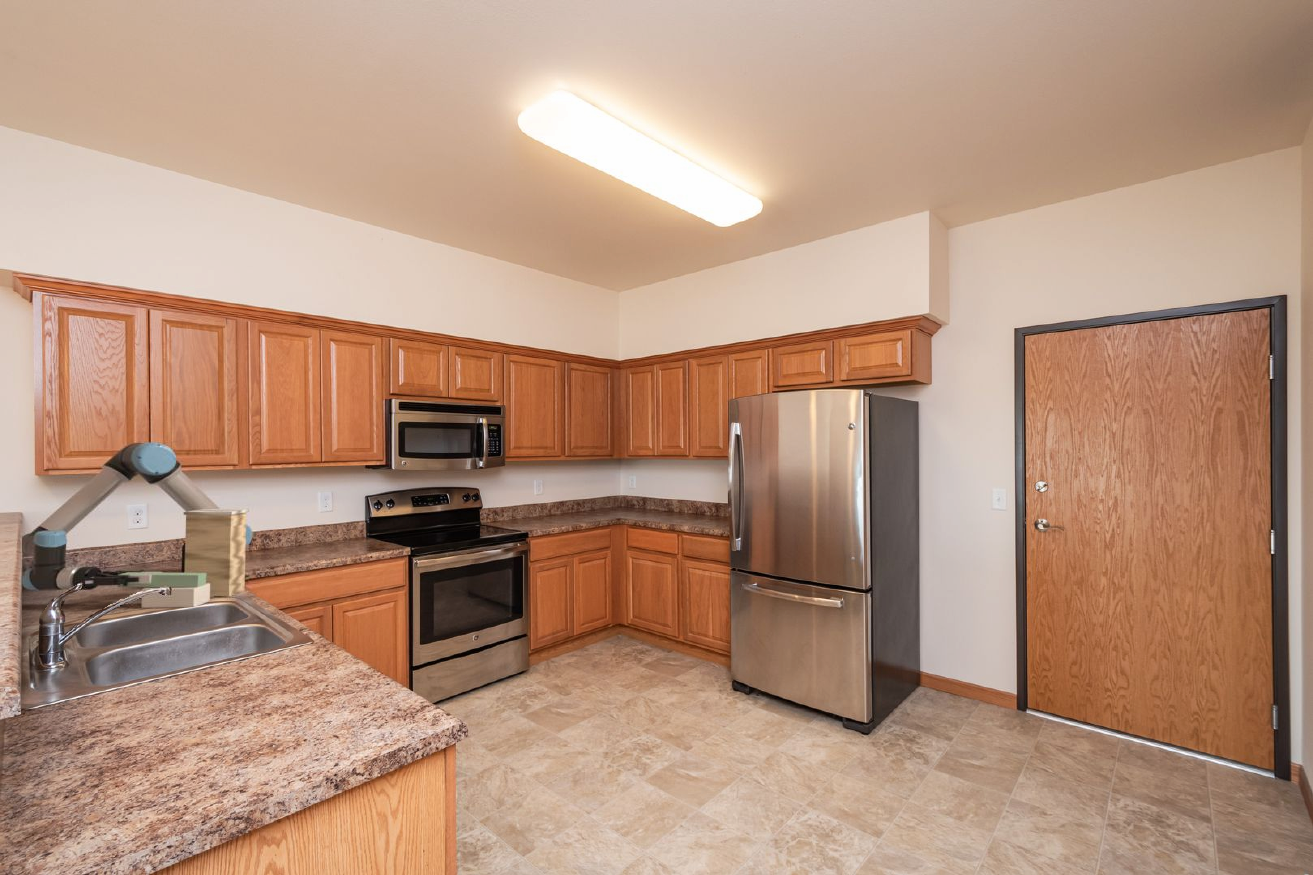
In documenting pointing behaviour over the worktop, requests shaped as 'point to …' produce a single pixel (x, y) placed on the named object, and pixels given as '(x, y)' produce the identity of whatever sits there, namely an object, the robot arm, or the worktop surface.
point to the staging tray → (178, 597)
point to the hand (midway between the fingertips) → (155, 577)
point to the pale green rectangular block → (169, 579)
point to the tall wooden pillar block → (217, 548)
